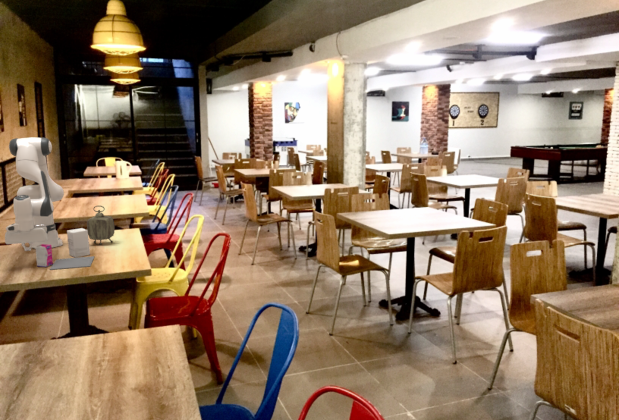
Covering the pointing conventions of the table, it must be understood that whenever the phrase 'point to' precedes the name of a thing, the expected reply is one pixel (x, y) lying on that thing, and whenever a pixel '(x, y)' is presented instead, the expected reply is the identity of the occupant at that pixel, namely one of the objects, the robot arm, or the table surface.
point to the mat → (72, 263)
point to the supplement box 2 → (78, 242)
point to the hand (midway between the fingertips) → (28, 250)
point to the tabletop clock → (100, 227)
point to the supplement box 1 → (44, 255)
